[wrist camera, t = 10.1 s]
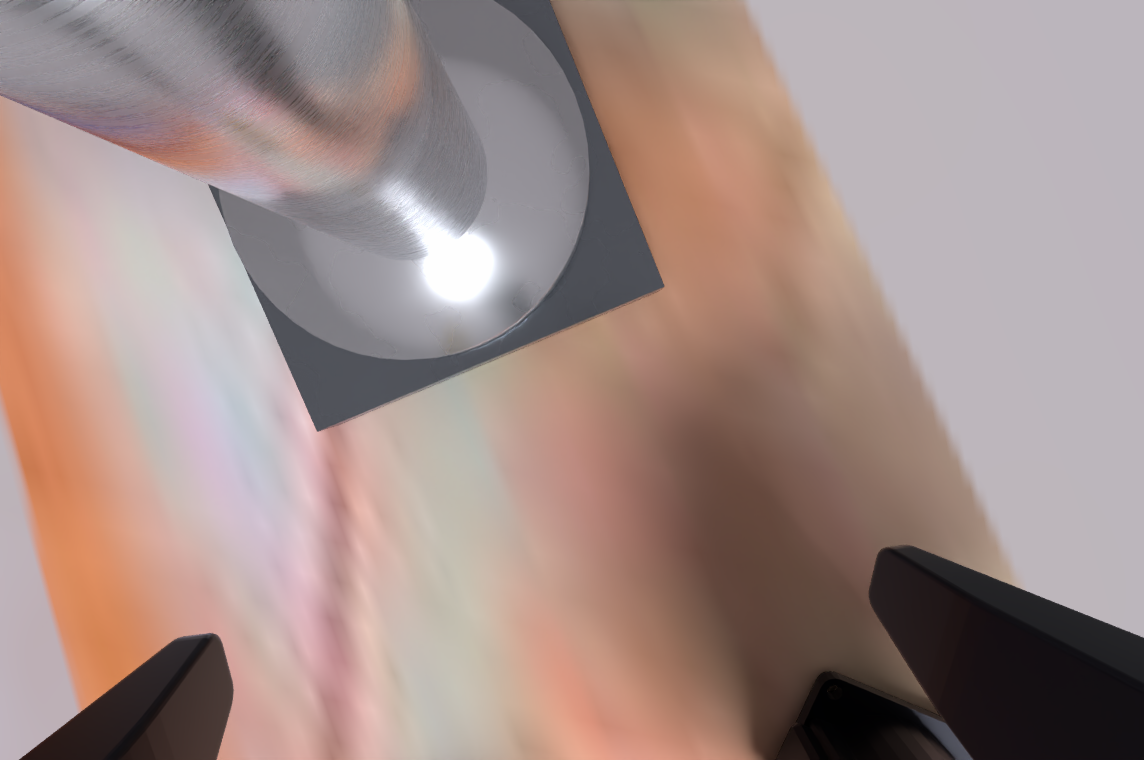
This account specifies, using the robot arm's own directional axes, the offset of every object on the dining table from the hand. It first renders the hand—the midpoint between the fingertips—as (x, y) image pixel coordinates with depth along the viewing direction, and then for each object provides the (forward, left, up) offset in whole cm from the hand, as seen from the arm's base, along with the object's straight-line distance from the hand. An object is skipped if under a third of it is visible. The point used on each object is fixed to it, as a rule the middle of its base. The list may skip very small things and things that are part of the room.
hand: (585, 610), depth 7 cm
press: (+12, -7, -11) cm, 18 cm away
